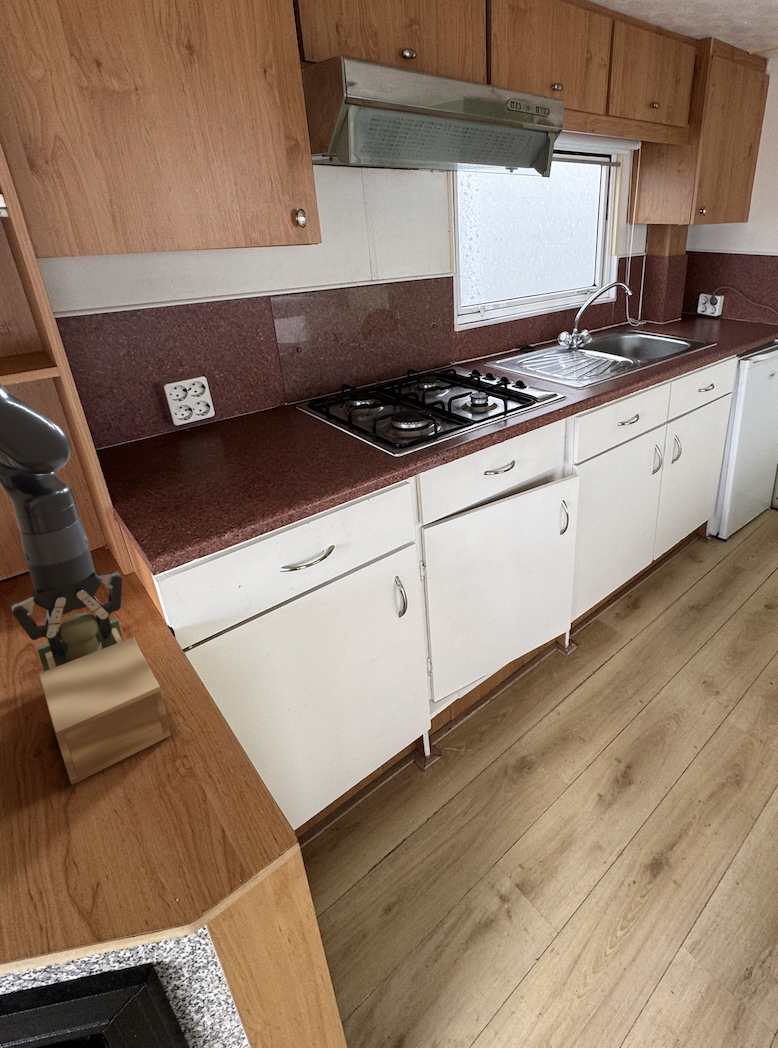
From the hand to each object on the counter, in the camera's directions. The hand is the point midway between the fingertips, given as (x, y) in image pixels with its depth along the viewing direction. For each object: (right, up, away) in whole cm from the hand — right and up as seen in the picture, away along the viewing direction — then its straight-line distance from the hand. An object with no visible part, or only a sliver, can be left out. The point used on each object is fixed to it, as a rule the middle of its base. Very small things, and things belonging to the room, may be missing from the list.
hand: (83, 644), depth 91 cm
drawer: (-1, -7, +3) cm, 8 cm away
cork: (0, -6, +2) cm, 7 cm away
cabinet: (+8, -11, -5) cm, 14 cm away
